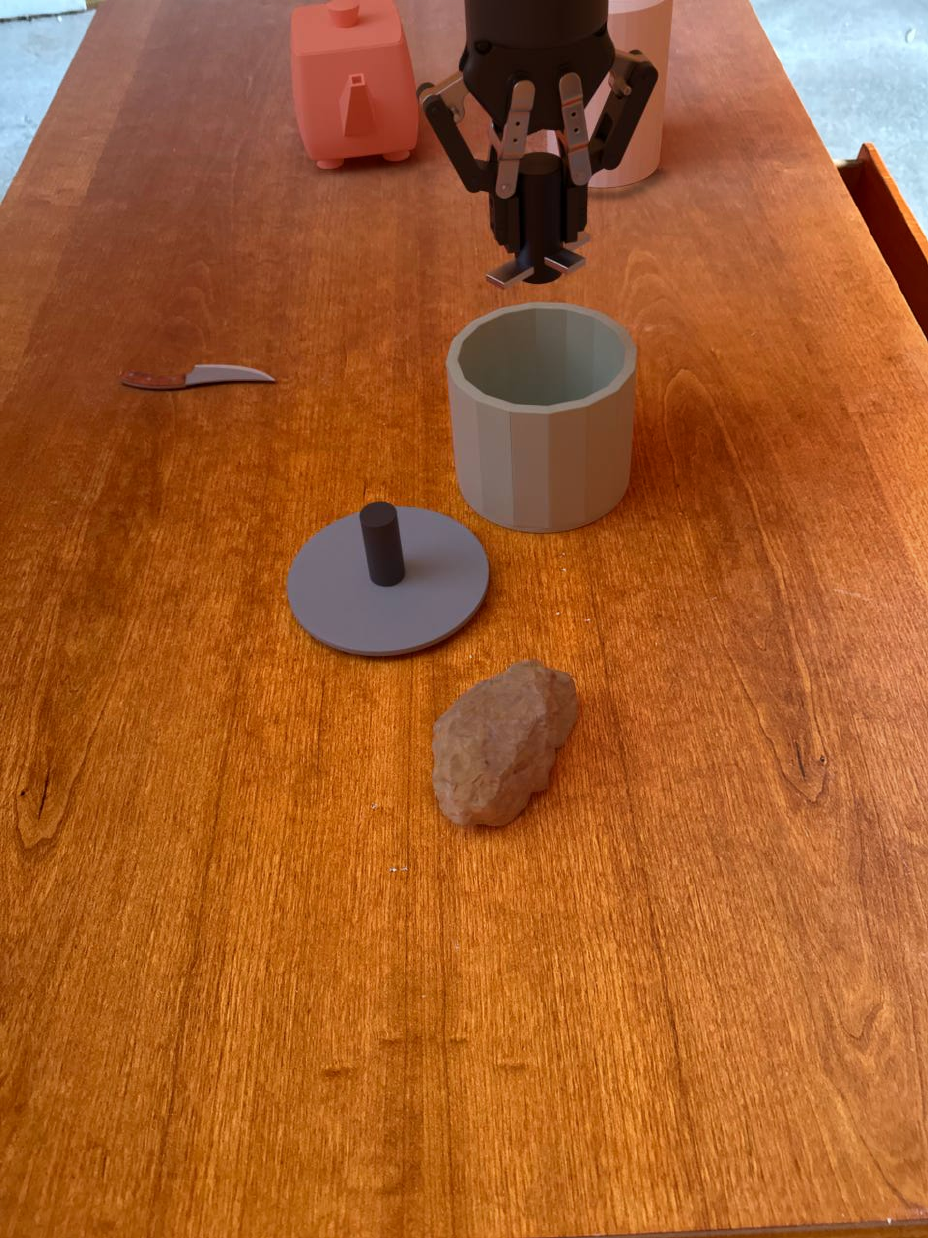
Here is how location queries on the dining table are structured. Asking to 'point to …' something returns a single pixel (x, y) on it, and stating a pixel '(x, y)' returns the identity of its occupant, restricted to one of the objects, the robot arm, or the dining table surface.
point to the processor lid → (388, 580)
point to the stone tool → (501, 743)
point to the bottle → (646, 27)
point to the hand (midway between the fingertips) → (539, 240)
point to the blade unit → (540, 226)
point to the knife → (192, 376)
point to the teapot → (353, 81)
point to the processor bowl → (542, 415)
